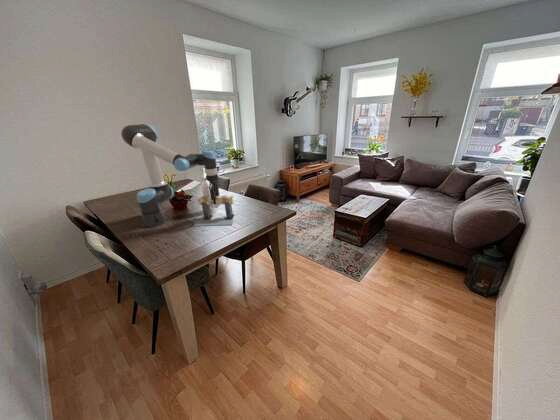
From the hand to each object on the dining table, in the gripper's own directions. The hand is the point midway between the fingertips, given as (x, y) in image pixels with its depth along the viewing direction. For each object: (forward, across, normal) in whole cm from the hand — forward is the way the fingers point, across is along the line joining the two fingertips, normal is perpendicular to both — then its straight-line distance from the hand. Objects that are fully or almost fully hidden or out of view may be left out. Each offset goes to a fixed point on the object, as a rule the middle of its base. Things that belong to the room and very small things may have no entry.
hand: (216, 206), depth 157 cm
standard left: (+9, 0, +8) cm, 12 cm away
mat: (+9, -9, +1) cm, 13 cm away
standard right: (+9, 0, -8) cm, 12 cm away
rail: (-2, 0, 0) cm, 2 cm away
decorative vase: (+9, +12, +9) cm, 17 cm away
